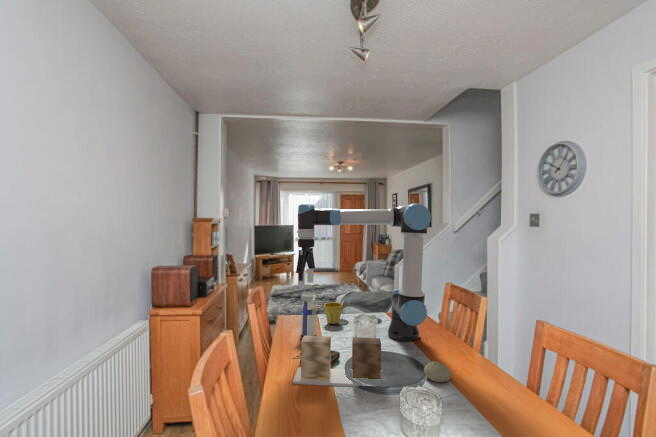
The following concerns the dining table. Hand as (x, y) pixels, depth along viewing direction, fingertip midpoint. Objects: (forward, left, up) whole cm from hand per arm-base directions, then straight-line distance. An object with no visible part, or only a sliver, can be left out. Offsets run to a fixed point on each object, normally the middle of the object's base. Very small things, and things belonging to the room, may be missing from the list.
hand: (306, 285), depth 151 cm
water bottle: (+1, -16, -27) cm, 32 cm away
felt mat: (-17, +30, -27) cm, 44 cm away
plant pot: (-10, -36, -28) cm, 46 cm away
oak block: (-8, +30, -26) cm, 41 cm away
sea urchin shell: (-52, +24, -28) cm, 64 cm away
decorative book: (-6, +16, -28) cm, 33 cm away
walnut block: (-26, +30, -26) cm, 48 cm away
